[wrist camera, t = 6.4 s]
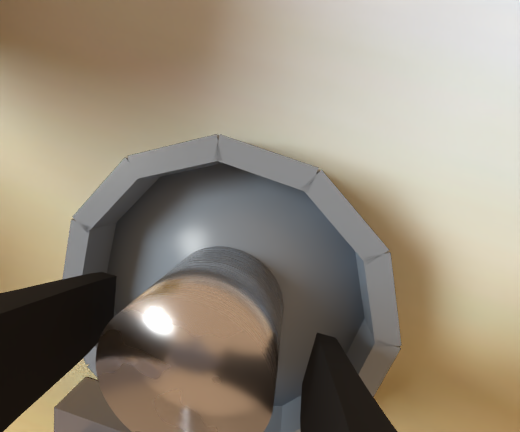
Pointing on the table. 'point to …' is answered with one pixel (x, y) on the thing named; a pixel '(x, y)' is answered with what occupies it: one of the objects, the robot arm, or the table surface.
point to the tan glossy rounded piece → (196, 348)
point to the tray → (248, 248)
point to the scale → (86, 411)
